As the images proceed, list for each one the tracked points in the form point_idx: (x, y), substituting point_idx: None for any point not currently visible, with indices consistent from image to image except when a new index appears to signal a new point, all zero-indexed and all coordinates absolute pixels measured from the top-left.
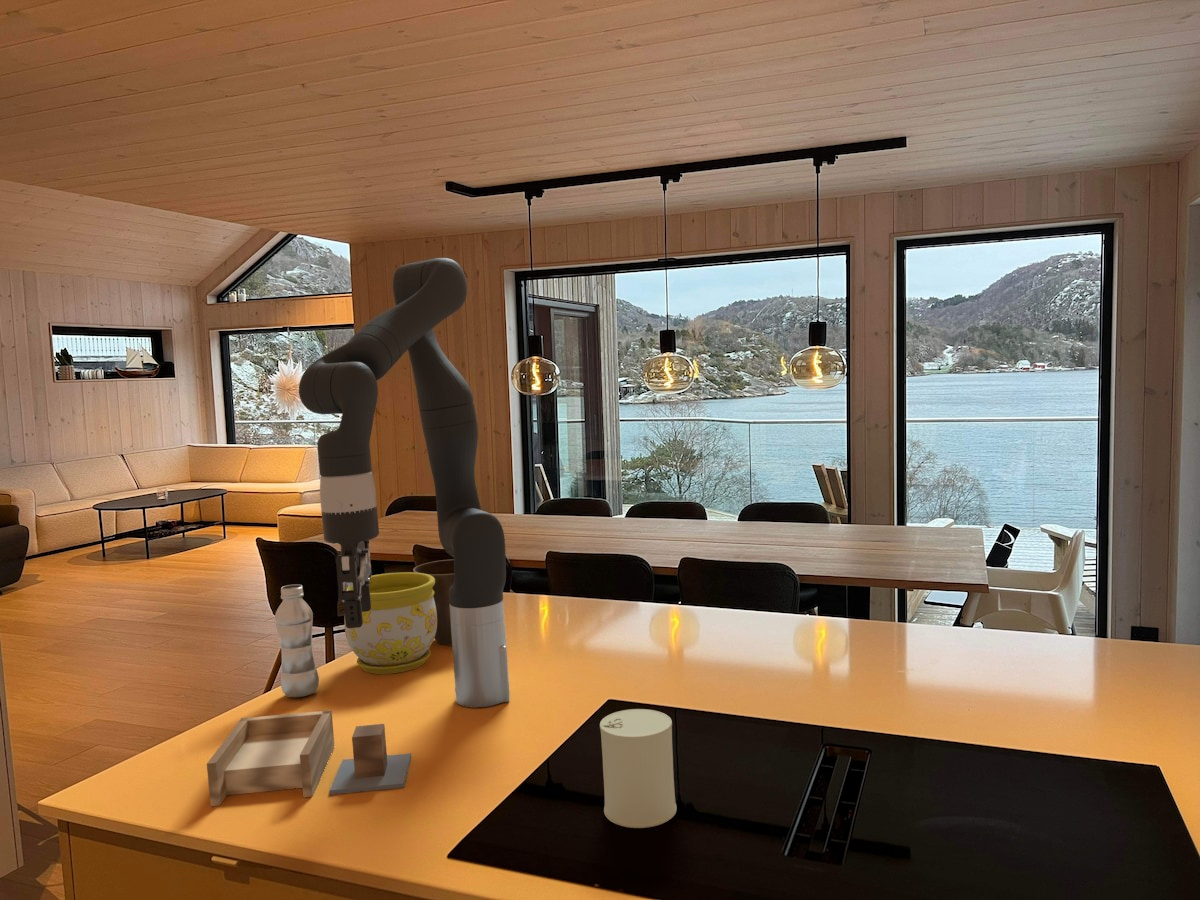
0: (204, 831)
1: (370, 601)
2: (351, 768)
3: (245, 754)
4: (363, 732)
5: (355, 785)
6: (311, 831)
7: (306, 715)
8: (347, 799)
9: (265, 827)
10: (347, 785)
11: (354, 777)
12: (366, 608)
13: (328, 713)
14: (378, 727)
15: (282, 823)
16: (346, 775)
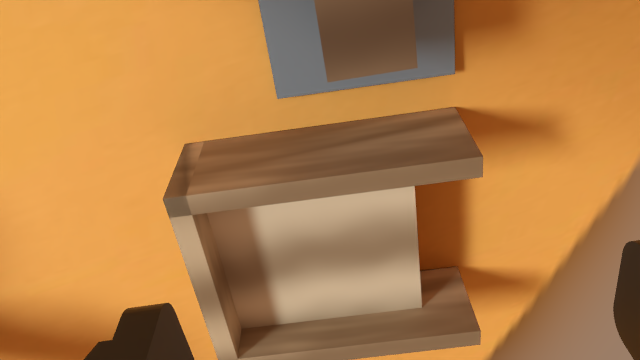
0: (557, 251)
1: (119, 353)
2: None
3: (341, 301)
4: (383, 42)
5: (439, 15)
6: (629, 51)
7: (203, 249)
8: (486, 17)
9: (577, 153)
10: (435, 36)
11: None
12: (169, 333)
13: (187, 199)
14: (345, 2)
15: (569, 126)
16: None
